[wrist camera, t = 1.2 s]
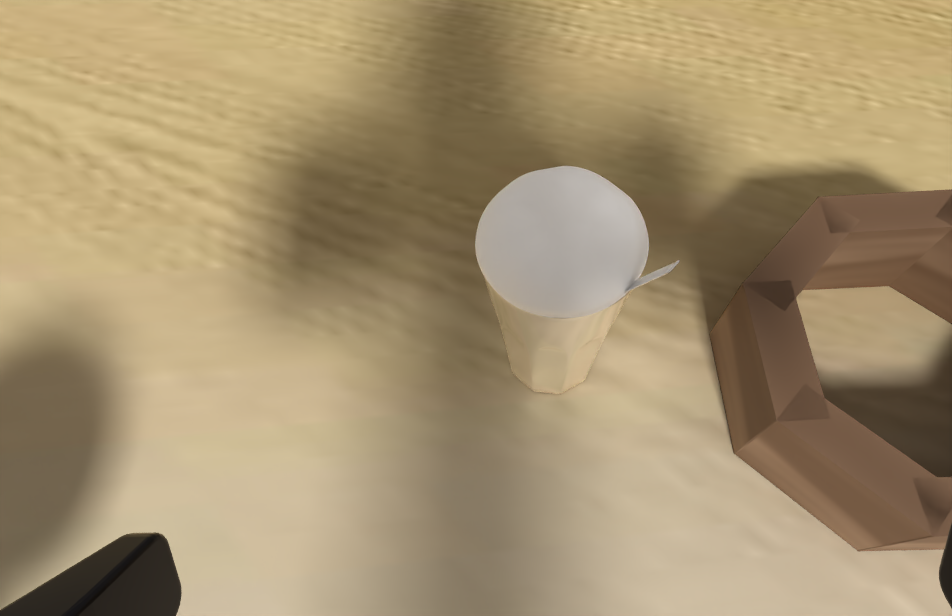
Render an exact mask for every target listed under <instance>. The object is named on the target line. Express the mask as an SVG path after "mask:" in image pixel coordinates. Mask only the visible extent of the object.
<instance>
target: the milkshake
mask: <svg viewBox="0 0 952 616" xmlns="http://www.w3.org/2000/svg"><path fill="white" fill-rule="evenodd" d="M475 250H476V257H477V261H478V264H479V267H480V269H481V271H482V274H483V277H484V280H485V283H486V286H487V289H488V292H489V295H490V298H491V301H492V304H493V306H494V309H495V312H496V315H497V318H498V321H499V324H500V327H501V331H502V335H503V339H504V343H505V346H506V350H507V354H508V358H509V362H510V366H511V370H512V373H513V375H515V376H516V377H517V378H518V379H519V380H521V381H522V382H523V383H524V384H525V385H526V386H528V387H529V388H530V389H531V390H532V391H535V392H545V393H554V394H562V393H563V392H565V391H567V390H569V389H571V388H572V387H574V386H576V385H578V384H580V383H582V382H583V381H584V380H585V378H586V376H587V374H588V372H589V370H590V368H591V366H592V364H593V361H594V359H595V357H596V355H597V353H598V351H599V349H600V347H601V345H602V343H603V341H604V339H605V337H606V335H607V333H608V331H609V329H610V327H611V326H612V324H613V322H614V321H615V319H616V317H617V316H618V314H619V312H620V311H621V309H622V307H623V305H624V304H625V302H626V300H627V298H628V297H629V295H630V293H631V291H632V290H633V289H635V288H637V287H640V286H642V285H644V284H646V283H649V282H651V281H653V280H655V279H657V278H660V277H662V276H664V275H666V274H668V273H670V272H671V271H672V270H673V268H674V267H675V266H676V265H677V264H678V263H679V261H680V260H677V261H675V262H673V263H670V264H668V265H666V266H664V267H662V268H660V269H658V270H656V271H654V272H652V273H649V274H647V275H645V276H643V277H641V278H639V277H640V276H641V274H642V272H643V270H644V267H645V265H646V261H647V257H648V252H649V238H648V232H647V228H646V225H645V222H644V219H643V217H642V214H641V212H640V210H639V209H638V207H637V205H636V204H635V203H634V201H633V200H632V199H631V198H630V197H629V196H628V195H627V194H625V193H624V192H623V191H622V190H620V189H619V188H618V187H616V186H615V185H614V184H612V183H611V182H610V181H608V180H607V179H605V178H604V177H602V176H600V175H598V174H596V173H594V172H592V171H590V170H587V169H583V168H580V167H574V166H559V167H553V168H548V169H542V170H537V171H533V172H529V173H526V174H524V175H522V176H520V177H518V178H517V179H515V180H514V181H512V182H511V183H510V184H508V185H507V186H506V187H504V188H503V189H502V190H501V191H500V192H499V193H498V194H497V195H496V196H495V197H494V198H493V199H492V200H491V201H490V203H489V204H488V205H487V207H486V208H485V210H484V212H483V214H482V216H481V218H480V221H479V224H478V228H477V232H476V240H475Z"/></svg>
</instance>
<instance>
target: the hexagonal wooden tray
mask: <svg viewBox="0 0 952 616" xmlns="http://www.w3.org/2000/svg"><path fill="white" fill-rule="evenodd" d="M875 286H890V287H892V288H894V289H895V290H897V291H899V292H900V293H902V294H904V295H905V296H907V297H909V298H910V299H912V300H914V301H915V302H917V303H918V304H920V305H922V306H923V307H925V308H927V309H928V310H930V311H932V312H933V313H935V314H937V315H938V316H940V317H942V318H943V319H945V320H947V321H948V322H950V323H951V324H952V190H934V191H916V192H898V193H880V194H862V195H843V196H825V197H818V198H817V199H816V200H815V202H814V203H813V204H812V205H811V206H810V207H809V208H808V210H807V211H806V212H805V213H804V214H803V215H802V216H801V218H800V219H799V220H798V221H797V222H796V223H795V224H794V226H793V227H792V228H791V229H790V230H789V231H788V232H787V233H786V235H785V236H784V237H783V238H782V239H781V240H780V241H779V243H778V244H777V245H776V246H775V247H774V248H773V249H772V251H771V252H770V253H769V254H768V255H767V256H766V257H765V259H764V260H763V261H762V262H761V263H760V264H759V265H758V266H757V268H756V269H755V270H754V271H753V272H752V273H751V274H750V276H749V277H748V278H747V279H746V280H745V281H744V282H743V283H742V284H741V286H740V288H739V289H738V291H737V292H736V294H735V295H734V297H733V298H732V300H731V301H730V303H729V304H728V306H727V308H726V309H725V311H724V312H723V314H722V315H721V317H720V318H719V320H718V321H717V323H716V324H715V326H714V327H713V329H712V331H711V332H710V334H709V335H710V339H711V344H712V348H713V353H714V358H715V363H716V368H717V372H718V377H719V382H720V387H721V392H722V396H723V401H724V406H725V411H726V416H727V420H728V425H729V430H730V435H731V440H732V444H733V449H734V454H736V455H737V456H738V457H739V458H741V459H742V460H743V461H745V462H746V463H747V464H748V465H750V466H751V467H752V468H753V469H755V470H756V471H757V472H759V473H760V474H761V475H762V476H764V477H765V478H766V479H767V480H769V481H770V482H771V483H772V484H774V485H775V486H776V487H778V488H779V489H780V490H781V491H783V492H784V493H785V494H786V495H788V496H789V497H790V498H792V499H793V500H794V501H795V502H797V503H798V504H799V505H800V506H802V507H803V508H804V509H806V510H807V511H808V512H809V513H811V514H812V515H813V516H814V517H816V518H817V519H818V520H820V521H821V522H822V523H823V524H825V525H826V526H827V527H828V528H830V529H831V530H832V531H833V532H835V533H836V534H837V535H839V536H840V537H841V538H842V539H844V540H845V541H846V542H847V543H849V544H850V545H851V546H853V547H854V548H855V549H856V550H857V551H883V550H930V549H945V545H946V541H947V537H948V533H949V529H950V525H951V523H952V477H936V476H935V475H933V474H932V473H930V472H929V471H927V470H926V469H925V468H923V467H922V466H920V465H919V464H918V463H916V462H915V461H913V460H912V459H910V458H909V457H908V456H906V455H905V454H903V453H902V452H901V451H899V450H898V449H896V448H895V447H893V446H892V445H891V444H889V443H888V442H886V441H885V440H883V439H882V438H881V437H879V436H878V435H876V434H875V433H874V432H872V431H871V430H869V429H868V428H866V427H865V426H864V425H862V424H861V423H859V422H858V421H857V420H855V419H854V418H852V417H851V416H849V415H848V414H847V413H845V412H844V411H842V410H841V409H839V408H838V407H837V406H835V405H834V404H832V403H831V402H830V401H828V400H827V399H825V398H824V394H823V391H822V388H821V384H820V381H819V377H818V374H817V370H816V367H815V363H814V360H813V356H812V353H811V349H810V346H809V342H808V339H807V335H806V332H805V329H804V325H803V322H802V318H801V315H800V311H799V308H798V304H797V301H796V297H797V296H798V294H799V293H800V292H801V291H802V290H811V289H832V288H854V287H875Z"/></svg>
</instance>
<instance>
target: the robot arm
mask: <svg viewBox="0 0 952 616" xmlns="http://www.w3.org/2000/svg"><path fill="white" fill-rule="evenodd" d="M939 580H940V585H941V588H942V591H943V593H944V595H945V597H946V599H947V601H948V603H949V604H950V606H951V608H952V523H951V525H950V529H949V533H948V537H947V541H946V545H945V549H944V553H943V556H942V560H941V564H940V569H939ZM180 601H181V584H180V580H179V577H178V573H177V570H176V567H175V563H174V560H173V557H172V553H171V550H170V547H169V543H168V541H167V539H166V538H165V537H164V536H163V535H162V534H159V533H131V534H126V535H124V536H122V537H120V538H118V539H117V540H115V541H113V542H112V543H110V544H108V545H107V546H105V547H103V548H102V549H100V550H98V551H97V552H95V553H93V554H92V555H90V556H89V557H87V558H85V559H84V560H82V561H80V562H79V563H77V564H75V565H74V566H72V567H70V568H69V569H67V570H65V571H64V572H62V573H61V574H59V575H57V576H56V577H54V578H52V579H51V580H49V581H47V582H46V583H44V584H42V585H41V586H39V587H37V588H36V589H34V590H33V591H31V592H29V593H28V594H26V595H24V596H23V597H21V598H19V599H18V600H16V601H14V602H13V603H11V604H9V605H8V606H6V607H5V608H3V609H1V610H0V616H176V614H177V612H178V609H179V605H180Z"/></svg>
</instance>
